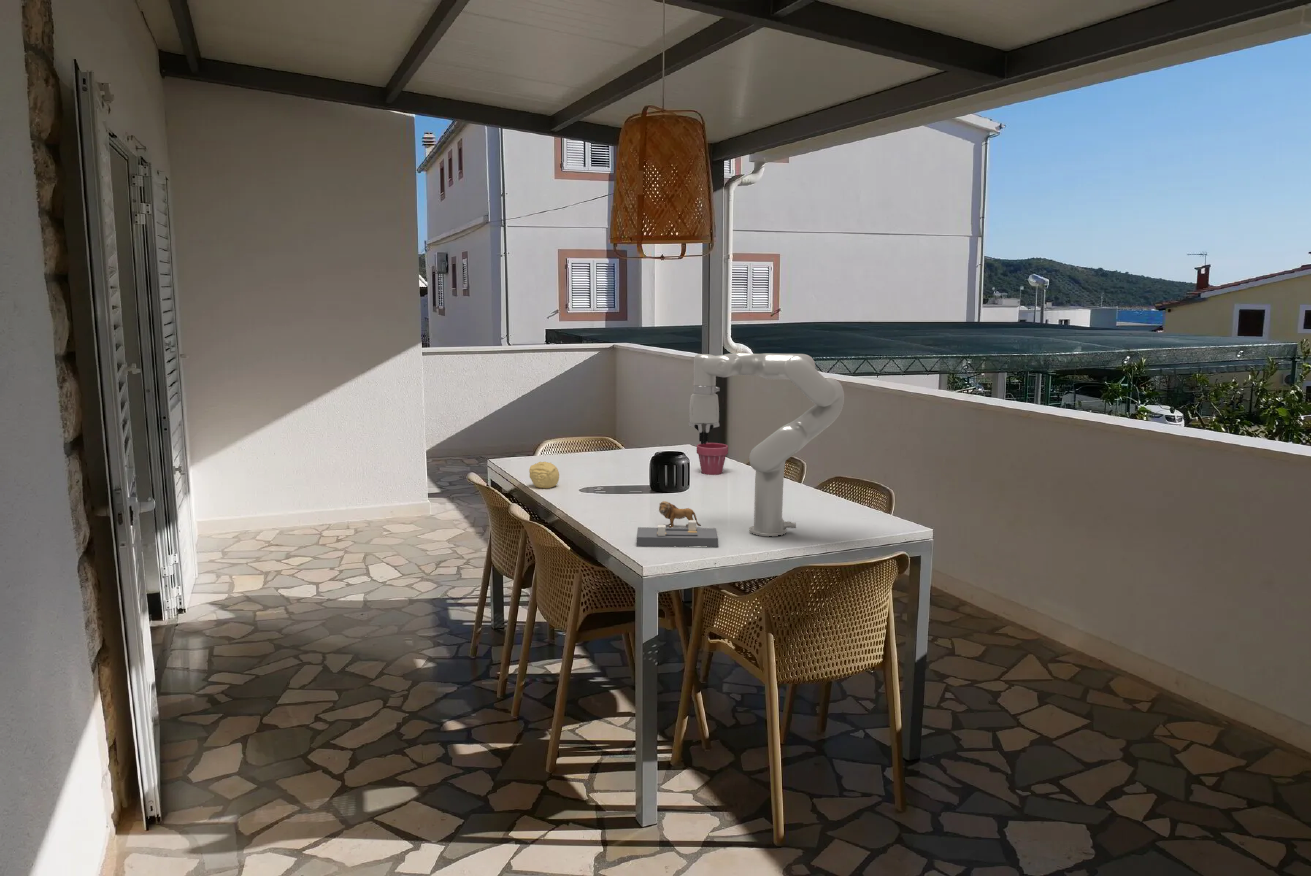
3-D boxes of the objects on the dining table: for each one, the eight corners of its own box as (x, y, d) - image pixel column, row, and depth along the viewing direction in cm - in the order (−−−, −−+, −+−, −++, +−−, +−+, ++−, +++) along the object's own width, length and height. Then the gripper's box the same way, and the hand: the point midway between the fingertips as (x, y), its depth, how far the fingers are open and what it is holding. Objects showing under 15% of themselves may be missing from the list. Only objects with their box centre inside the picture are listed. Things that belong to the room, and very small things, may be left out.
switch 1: (665, 536, 307) (665, 525, 307) (665, 538, 304) (665, 527, 304) (657, 536, 307) (657, 524, 307) (657, 538, 304) (657, 527, 304)
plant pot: (720, 477, 419) (720, 448, 417) (691, 474, 425) (691, 446, 423) (732, 471, 432) (732, 444, 430) (703, 469, 438) (704, 441, 436)
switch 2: (695, 531, 314) (696, 520, 314) (696, 533, 311) (696, 522, 311) (688, 531, 314) (688, 520, 314) (688, 533, 311) (688, 522, 311)
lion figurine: (658, 528, 327) (658, 502, 326) (658, 524, 332) (659, 499, 331) (701, 529, 327) (701, 503, 325) (700, 525, 332) (701, 500, 330)
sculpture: (525, 488, 391) (525, 462, 389) (539, 483, 402) (539, 458, 400) (550, 490, 387) (550, 464, 385) (563, 485, 398) (563, 460, 397)
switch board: (715, 537, 316) (715, 527, 315) (717, 547, 303) (718, 537, 303) (637, 536, 316) (637, 527, 316) (636, 546, 303) (636, 536, 303)
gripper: (725, 389, 327) (724, 442, 330) (682, 389, 327) (681, 441, 330) (727, 391, 320) (725, 445, 323) (682, 391, 320) (682, 445, 323)
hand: (703, 443), depth 326 cm, fingers closed
